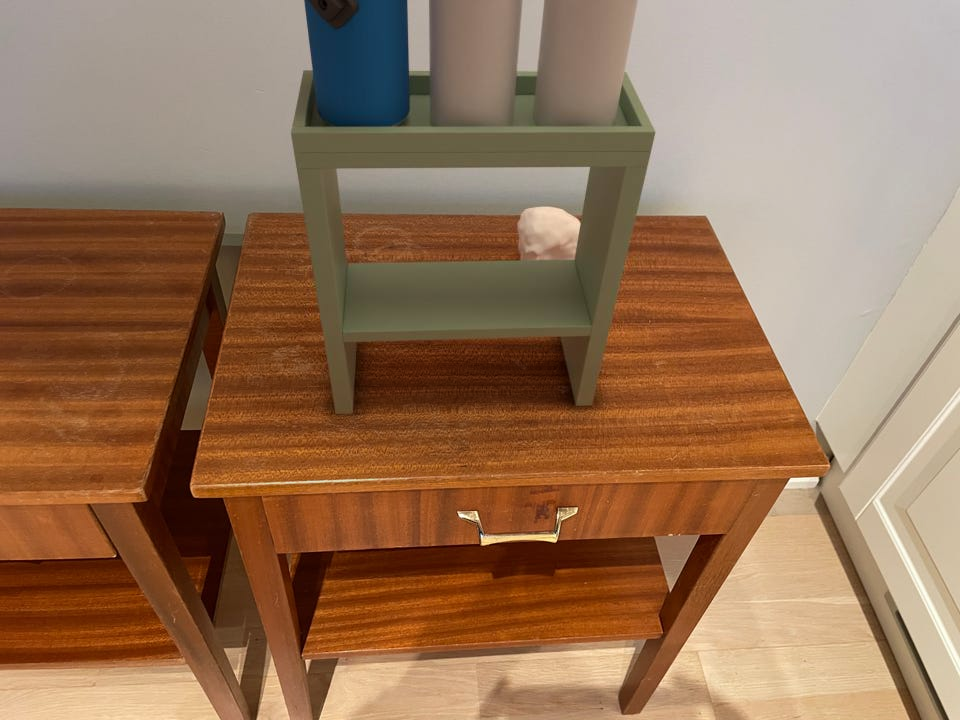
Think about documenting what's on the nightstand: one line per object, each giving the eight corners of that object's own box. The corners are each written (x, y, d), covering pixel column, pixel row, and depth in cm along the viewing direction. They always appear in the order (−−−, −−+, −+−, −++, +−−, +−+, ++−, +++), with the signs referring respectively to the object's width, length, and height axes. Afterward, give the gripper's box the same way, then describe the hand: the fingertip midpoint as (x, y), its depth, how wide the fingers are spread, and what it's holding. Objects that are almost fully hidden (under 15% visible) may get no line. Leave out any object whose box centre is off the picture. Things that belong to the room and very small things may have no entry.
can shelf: (296, 169, 49) (262, -44, 40) (308, 104, 56) (281, -93, 46) (647, 166, 51) (695, -36, 42) (620, 104, 58) (655, -84, 48)
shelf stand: (335, 414, 68) (296, 169, 49) (340, 345, 74) (308, 104, 56) (591, 405, 70) (647, 166, 51) (575, 338, 76) (620, 104, 58)
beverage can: (428, 123, 52) (427, -63, 43) (352, 151, 49) (335, -44, 40) (375, 89, 55) (364, -91, 47) (301, 114, 52) (275, -75, 43)
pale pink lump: (518, 193, 79) (622, 198, 81) (505, 255, 85) (603, 259, 87) (528, 227, 75) (638, 232, 77) (514, 290, 81) (616, 293, 83)
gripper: (104, -323, 33) (352, 2, 38) (287, -331, 42) (466, -69, 48) (58, -192, 38) (282, 78, 44) (230, -226, 47) (397, 0, 53)
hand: (378, 0), depth 46 cm, fingers closed on beverage can, 6 cm apart
